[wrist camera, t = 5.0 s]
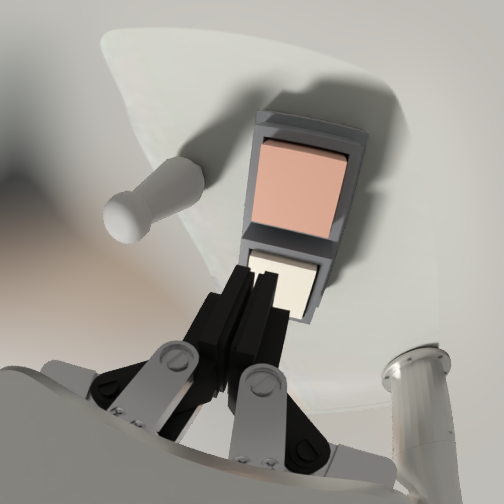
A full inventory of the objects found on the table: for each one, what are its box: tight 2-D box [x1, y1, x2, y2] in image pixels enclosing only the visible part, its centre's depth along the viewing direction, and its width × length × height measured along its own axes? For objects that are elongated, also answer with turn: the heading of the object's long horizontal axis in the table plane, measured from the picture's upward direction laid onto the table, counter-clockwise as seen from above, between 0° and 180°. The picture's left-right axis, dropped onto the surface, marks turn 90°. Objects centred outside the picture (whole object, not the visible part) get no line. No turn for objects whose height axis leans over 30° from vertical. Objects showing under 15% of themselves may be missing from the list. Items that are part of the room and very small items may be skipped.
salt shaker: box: [103, 157, 205, 244], centre depth 25 cm, size 6×6×13 cm
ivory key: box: [248, 249, 317, 319], centre depth 27 cm, size 6×6×4 cm
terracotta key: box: [251, 138, 347, 238], centre depth 21 cm, size 6×6×4 cm
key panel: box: [238, 110, 368, 324], centre depth 27 cm, size 20×10×7 cm, turn 173°
